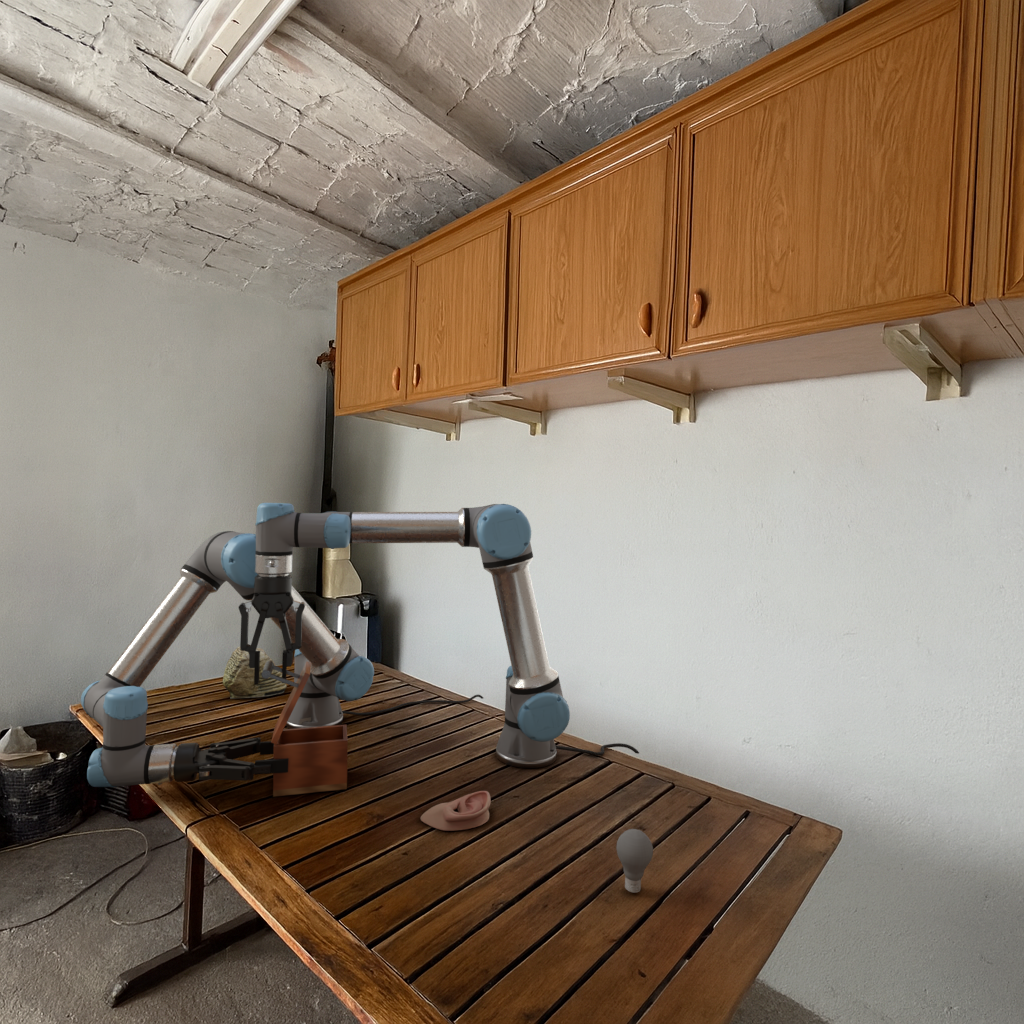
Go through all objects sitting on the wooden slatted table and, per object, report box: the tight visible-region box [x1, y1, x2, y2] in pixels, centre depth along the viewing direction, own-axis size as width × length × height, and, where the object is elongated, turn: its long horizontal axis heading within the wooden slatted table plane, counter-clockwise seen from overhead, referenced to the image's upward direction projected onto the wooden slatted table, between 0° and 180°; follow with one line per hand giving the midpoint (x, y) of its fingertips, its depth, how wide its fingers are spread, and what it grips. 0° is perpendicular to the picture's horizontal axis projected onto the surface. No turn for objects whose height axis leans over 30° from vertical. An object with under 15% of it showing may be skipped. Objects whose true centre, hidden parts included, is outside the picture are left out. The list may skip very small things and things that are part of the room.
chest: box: [272, 724, 349, 798], centre depth 140 cm, size 15×10×11 cm, turn 106°
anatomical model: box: [419, 790, 492, 832], centre depth 127 cm, size 13×4×12 cm
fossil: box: [222, 646, 288, 699], centre depth 198 cm, size 9×18×15 cm, turn 132°
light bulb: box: [615, 828, 654, 894], centre depth 106 cm, size 6×6×10 cm
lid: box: [261, 661, 311, 744], centre depth 137 cm, size 16×10×9 cm
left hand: (289, 755), depth 138 cm, fingers closed on chest, 10 cm apart
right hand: (270, 681), depth 137 cm, fingers open, 5 cm apart
